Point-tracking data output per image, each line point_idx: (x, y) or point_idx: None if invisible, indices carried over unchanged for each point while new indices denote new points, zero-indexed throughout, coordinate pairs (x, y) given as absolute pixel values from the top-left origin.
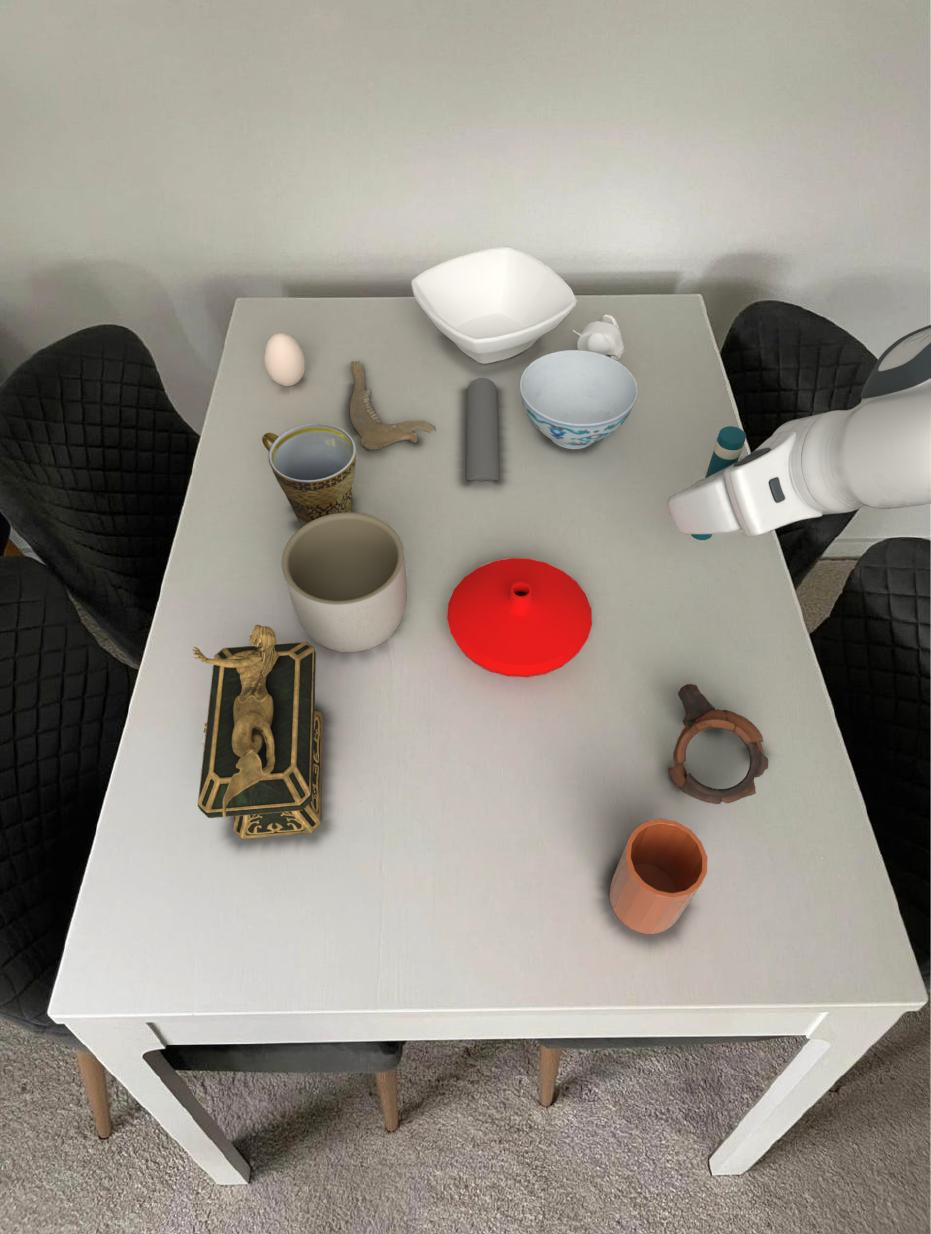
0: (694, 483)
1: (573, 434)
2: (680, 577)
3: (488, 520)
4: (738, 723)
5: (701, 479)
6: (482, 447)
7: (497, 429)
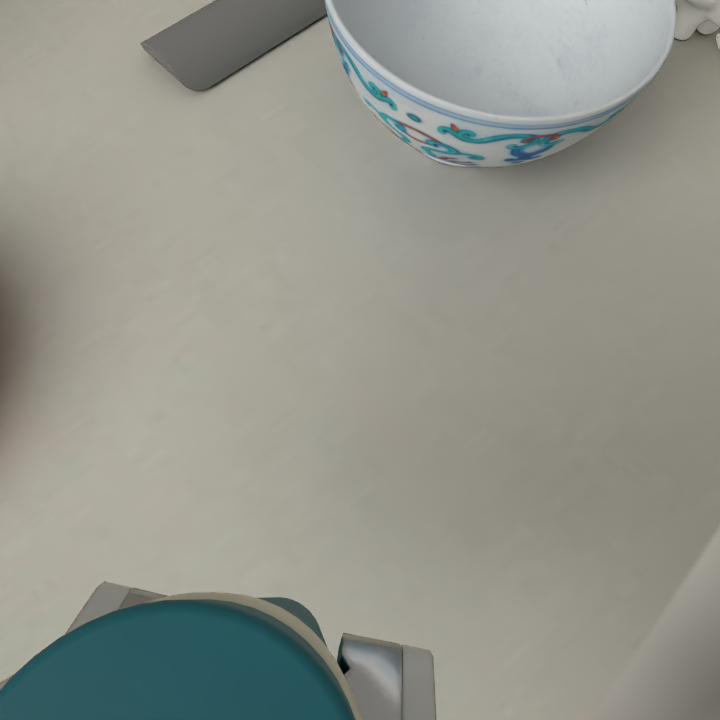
0: (86, 602)
1: (362, 86)
2: None
3: (73, 148)
4: None
5: None
6: (234, 4)
7: None
